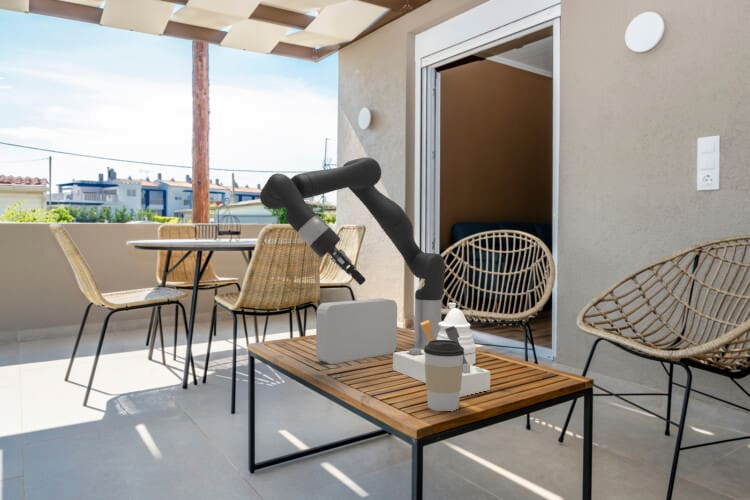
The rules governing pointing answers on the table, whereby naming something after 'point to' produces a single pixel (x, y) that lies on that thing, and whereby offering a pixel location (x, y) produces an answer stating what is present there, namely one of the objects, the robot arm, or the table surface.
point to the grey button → (414, 351)
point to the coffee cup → (443, 374)
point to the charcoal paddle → (454, 337)
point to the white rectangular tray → (415, 368)
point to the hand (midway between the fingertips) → (363, 282)
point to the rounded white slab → (355, 330)
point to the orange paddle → (427, 329)
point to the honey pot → (459, 332)
